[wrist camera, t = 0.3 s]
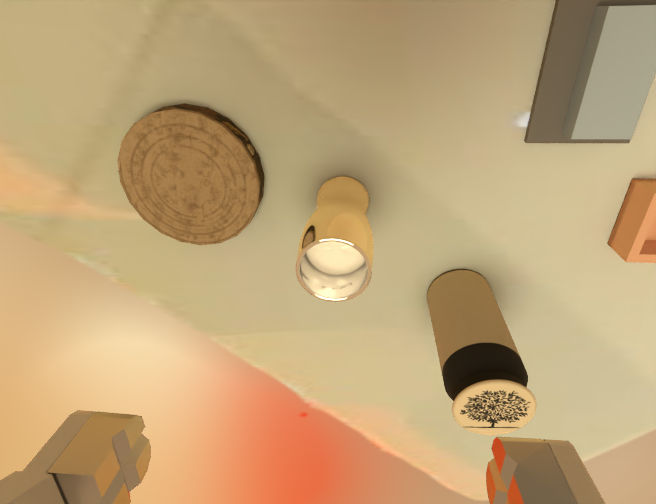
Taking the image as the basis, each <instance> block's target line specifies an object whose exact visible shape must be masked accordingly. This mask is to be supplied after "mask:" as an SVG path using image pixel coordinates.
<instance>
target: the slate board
mask: <svg viewBox="0 0 656 504" xmlns="http://www.w3.org/2000/svg"><path fill="white" fill-rule="evenodd" d="M655 73H656V5H624V6H596V10H595V13H594V17H593V21H592V24H591V28H590V32H589V35H588V39H587V43H586V46H585V50H584V54H583V57H582V61H581V65H580V68H579V72H578V76H577V79H576V83H575V87H574V91H573V94H572V98H571V102H570V105H569V109H568V113H567V116H566V120H565V124H564V127H563V131H562V134H564V135H565V136H567V137H568V138H570V139H632V136H633V134H634V131H635V128H636V125H637V123H638V120H639V117H640V114H641V112H642V109H643V106H644V103H645V101H646V98H647V95H648V92H649V89H650V87H651V84H652V81H653V78H654V76H655Z"/></svg>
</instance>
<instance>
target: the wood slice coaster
mask: <svg viewBox="0 0 656 504" xmlns="http://www.w3.org/2000/svg"><path fill="white" fill-rule="evenodd" d="M118 167H119V175H120V182H121V184H122V187H123V189H124V191H125V193H126V196H127V198H128V200H129V202H130V203H131V205H132V206H133V207H134V208H135V210H136V211H137V212H138V213H139V215H140V216H141V217H142V218H143V219H144V220H145V221H146V222H148V223H149V224H150V225H151V226H153V227H154V228H155V229H157V230H158V231H159V232H161V233H162V234H165V235H167V236H169V237H171V238H174V239H176V240H178V241H180V242H186V243H191V244H197V245H207V244H216V243H221V242H224V241H226V240H228V239H230V238H233V237H235V236H237V235H238V234H239V233H240V232H241V231H242V230H243V229H244V228H245V227H246V226H247V225H248V224H249V223H250V222H251V220H252V218H253V216H254V214H255V213H256V210H257V208H258V206H259V204H260V202H261V199H262V197H263V189H264V173H263V169H262V165H261V161H260V157H259V155H258V153H257V151H256V150H255V148H254V146H253V145H252V143H251V141H250V140H249V138H248V136H247V135H246V134H245V133H244V132H243V131H242V130H241V129H240V128H238V127H237V126H236V125H235V124H234V123H233V122H232V121H231V120H230V119H228V118H226V117H225V116H223V115H221V114H219V113H217V112H215V111H213V110H211V109H209V108H206V107H200V106H194V105H189V104H180V105H174V106H168V107H163V108H161V109H159V110H157V111H155V112H153V113H151V114H149V115H148V116H146V117H144V118H143V119H141V120H139V121H138V122H136V123H135V124H133V126H132V127H131V129H130V130H129V131H128V133H127V134H126V136H125V137H124V139H123V140H122V143H121V148H120V152H119V157H118Z"/></svg>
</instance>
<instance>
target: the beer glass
mask: <svg viewBox="0 0 656 504" xmlns="http://www.w3.org/2000/svg"><path fill="white" fill-rule="evenodd" d="M368 204H369V197H368V193H367V191H366V189H365V188H364V186H363V185H362V184H361V183H360V182H358V181H357V180H355V179H353V178H350V177H345V176H339V177H334V178H332V179H330V180H328V181H326V182H325V183H324V184H323V185H322V186H321V188H320V189H319V192H318V195H317V209H316V210H315V212H314V213H313V214H312V216H311V217H310V219H309V220H308V222H307V224H306V225H305V228H304V230H303V233H302V236H301V239H300V244H299V249H298V257H297V262H296V275H297V278H298V280H299V282H300V284H301V285H302V287H303V288H304V289H305V290H306V291H307V292H308V293H310V294H311V295H313V296H315V297H317V298H319V299H322V300H325V301H332V302H339V301H345V300H349V299H352V298H354V297H356V296H357V295H359V294H360V293H362V292H363V291H364V290H365V288H366V287H367V286H368V284H369V282H370V279H371V274H372V263H373V251H374V244H373V235H372V231H371V227H370V224H369V222H368V219H367V217H366V214H365V213H366V211H367V208H368Z"/></svg>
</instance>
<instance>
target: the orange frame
mask: <svg viewBox="0 0 656 504" xmlns="http://www.w3.org/2000/svg"><path fill="white" fill-rule="evenodd" d="M607 244H608V245H609V246H610V247H611V248H612V249H613V250H614V251H615V252H616V253H617V254H618V255H619V256H620V257H621V258H622V259H623V260H624V261H625V262H649V263H656V179H632V181H631V183H630V186H629V189H628V191H627V194H626V196H625V199H624V202H623V204H622V207H621V210H620V212H619V215H618V217H617V220H616V223H615V225H614V228H613V230H612V233H611V236H610V238H609V241H608V243H607Z"/></svg>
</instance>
